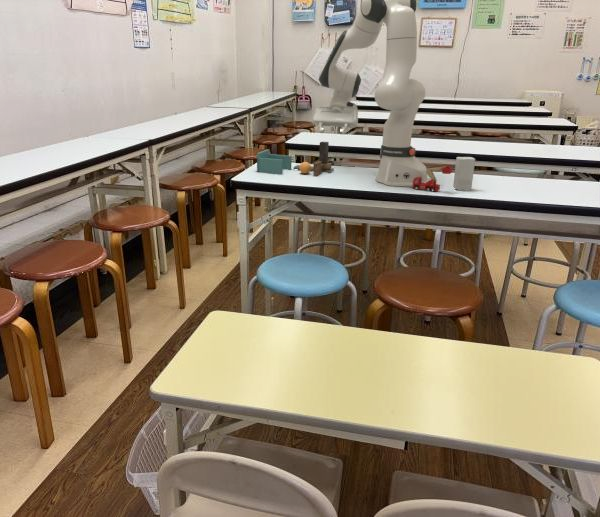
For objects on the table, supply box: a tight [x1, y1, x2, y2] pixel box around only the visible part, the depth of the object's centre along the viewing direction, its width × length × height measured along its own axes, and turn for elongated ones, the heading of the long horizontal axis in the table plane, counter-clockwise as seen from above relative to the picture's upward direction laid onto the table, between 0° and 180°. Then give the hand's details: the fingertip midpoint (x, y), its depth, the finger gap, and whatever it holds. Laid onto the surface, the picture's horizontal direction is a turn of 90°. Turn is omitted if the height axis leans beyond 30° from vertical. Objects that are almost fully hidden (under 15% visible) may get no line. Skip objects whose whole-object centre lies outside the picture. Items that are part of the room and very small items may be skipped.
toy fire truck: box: [411, 165, 453, 192], centre depth 190 cm, size 3×14×10 cm, turn 62°
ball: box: [299, 161, 312, 175], centre depth 215 cm, size 5×5×5 cm
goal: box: [256, 148, 293, 175], centre depth 219 cm, size 12×11×8 cm
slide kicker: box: [312, 141, 332, 176], centre depth 215 cm, size 6×13×12 cm, turn 159°
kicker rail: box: [293, 164, 335, 174], centre depth 222 cm, size 17×5×1 cm, turn 69°
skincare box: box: [452, 156, 476, 190], centre depth 192 cm, size 6×4×12 cm
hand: (331, 132), depth 224 cm, fingers open, 8 cm apart
